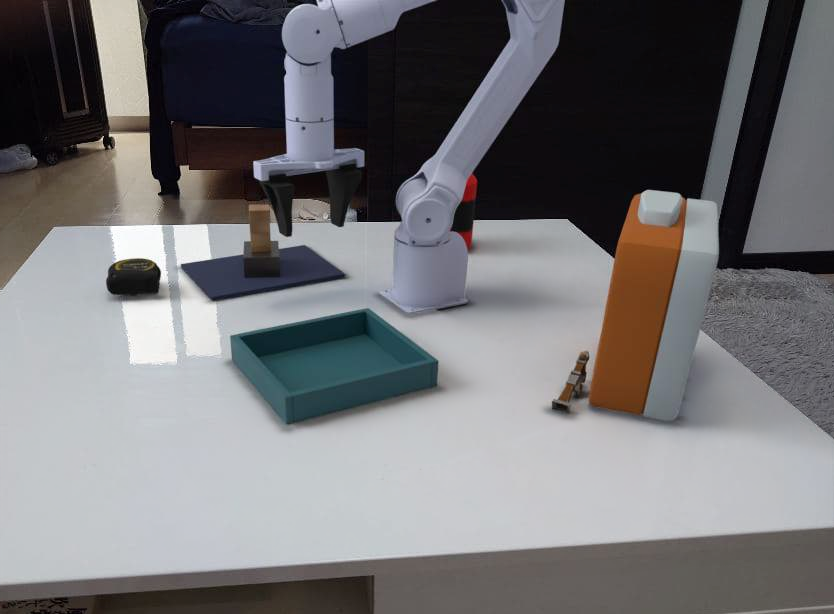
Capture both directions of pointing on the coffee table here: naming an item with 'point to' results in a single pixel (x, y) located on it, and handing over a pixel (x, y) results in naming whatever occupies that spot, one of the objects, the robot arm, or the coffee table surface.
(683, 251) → the orange and white box
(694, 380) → the coffee table surface
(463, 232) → the soda can
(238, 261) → the pad
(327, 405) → the tray
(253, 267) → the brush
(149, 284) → the tape measure
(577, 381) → the wooden post with brackets
